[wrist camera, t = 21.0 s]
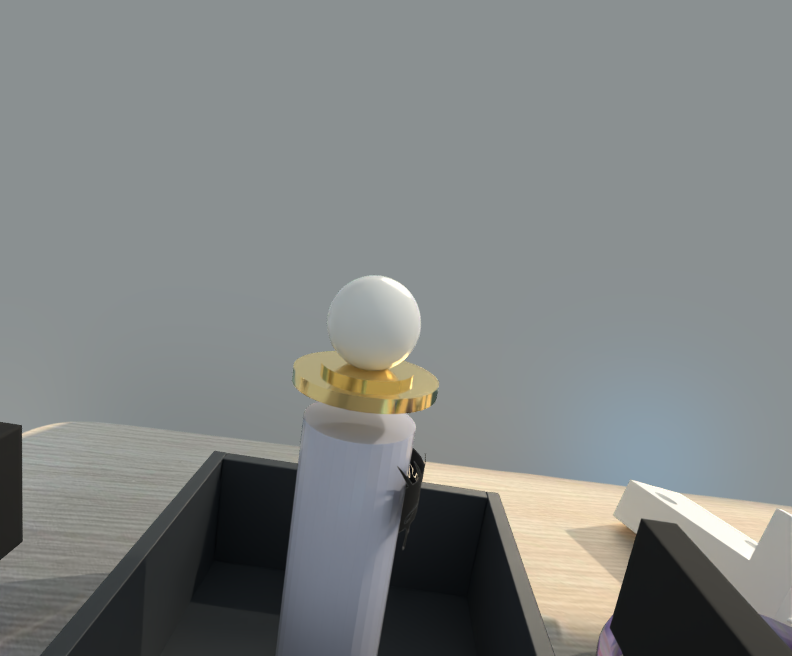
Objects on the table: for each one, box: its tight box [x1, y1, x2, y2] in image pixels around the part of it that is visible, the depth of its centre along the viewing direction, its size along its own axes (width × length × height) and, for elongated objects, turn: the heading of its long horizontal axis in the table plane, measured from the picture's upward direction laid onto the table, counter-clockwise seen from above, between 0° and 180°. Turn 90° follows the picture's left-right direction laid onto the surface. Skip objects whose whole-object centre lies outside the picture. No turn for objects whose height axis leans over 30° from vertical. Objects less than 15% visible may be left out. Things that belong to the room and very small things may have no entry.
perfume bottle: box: [275, 275, 439, 656], centre depth 21 cm, size 6×6×20 cm
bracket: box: [613, 480, 792, 627], centre depth 38 cm, size 13×7×8 cm, turn 20°
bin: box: [40, 451, 555, 656], centre depth 22 cm, size 18×18×8 cm
